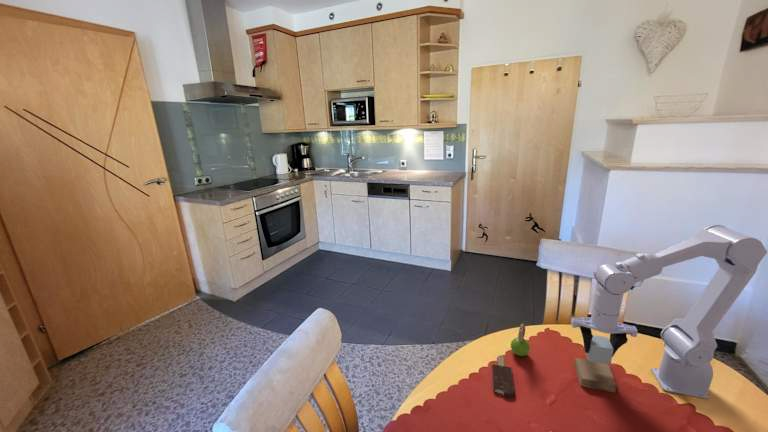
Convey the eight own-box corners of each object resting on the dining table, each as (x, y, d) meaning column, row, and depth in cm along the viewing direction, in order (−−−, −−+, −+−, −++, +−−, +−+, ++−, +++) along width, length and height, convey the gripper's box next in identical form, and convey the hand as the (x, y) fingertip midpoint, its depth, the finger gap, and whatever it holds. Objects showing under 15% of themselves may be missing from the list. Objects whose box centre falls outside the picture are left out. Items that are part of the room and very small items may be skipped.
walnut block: (605, 371, 92) (607, 363, 91) (614, 393, 85) (616, 384, 84) (574, 365, 94) (575, 357, 93) (580, 386, 87) (581, 378, 86)
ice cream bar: (491, 356, 99) (493, 396, 85) (491, 352, 99) (494, 391, 85) (509, 359, 98) (514, 400, 84) (509, 355, 97) (515, 395, 84)
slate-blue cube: (604, 352, 89) (607, 337, 88) (610, 364, 85) (613, 349, 83) (584, 348, 91) (586, 333, 89) (588, 361, 86) (591, 345, 85)
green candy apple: (508, 359, 97) (511, 325, 94) (511, 345, 103) (514, 313, 99) (527, 364, 95) (531, 330, 91) (529, 350, 100) (533, 318, 97)
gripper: (633, 305, 84) (624, 347, 88) (571, 297, 89) (565, 338, 93) (644, 320, 78) (634, 366, 82) (577, 311, 83) (570, 354, 87)
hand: (598, 352), depth 87 cm, fingers closed on slate-blue cube, 5 cm apart
